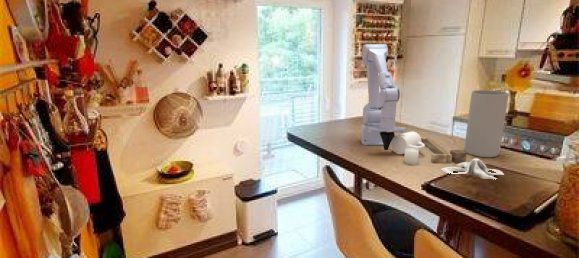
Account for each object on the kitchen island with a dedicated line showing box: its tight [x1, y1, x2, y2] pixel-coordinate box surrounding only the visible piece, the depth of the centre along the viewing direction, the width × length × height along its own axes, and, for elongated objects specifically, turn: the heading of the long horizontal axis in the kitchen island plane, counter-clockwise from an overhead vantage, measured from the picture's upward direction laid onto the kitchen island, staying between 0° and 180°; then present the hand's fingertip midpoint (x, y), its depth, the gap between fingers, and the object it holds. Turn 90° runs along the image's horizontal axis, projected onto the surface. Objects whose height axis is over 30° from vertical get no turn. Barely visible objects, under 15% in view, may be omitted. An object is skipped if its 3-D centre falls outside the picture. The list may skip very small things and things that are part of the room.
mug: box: [390, 131, 426, 155], centre depth 135 cm, size 12×10×8 cm
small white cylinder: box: [403, 148, 420, 166], centre depth 124 cm, size 5×5×5 cm
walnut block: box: [449, 149, 468, 164], centre depth 125 cm, size 4×4×4 cm
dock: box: [421, 137, 452, 164], centre depth 135 cm, size 7×23×3 cm, turn 178°
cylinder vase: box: [463, 89, 510, 158], centre depth 131 cm, size 12×12×25 cm
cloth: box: [439, 157, 505, 180], centre depth 112 cm, size 22×19×6 cm
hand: (385, 149), depth 135 cm, fingers closed
